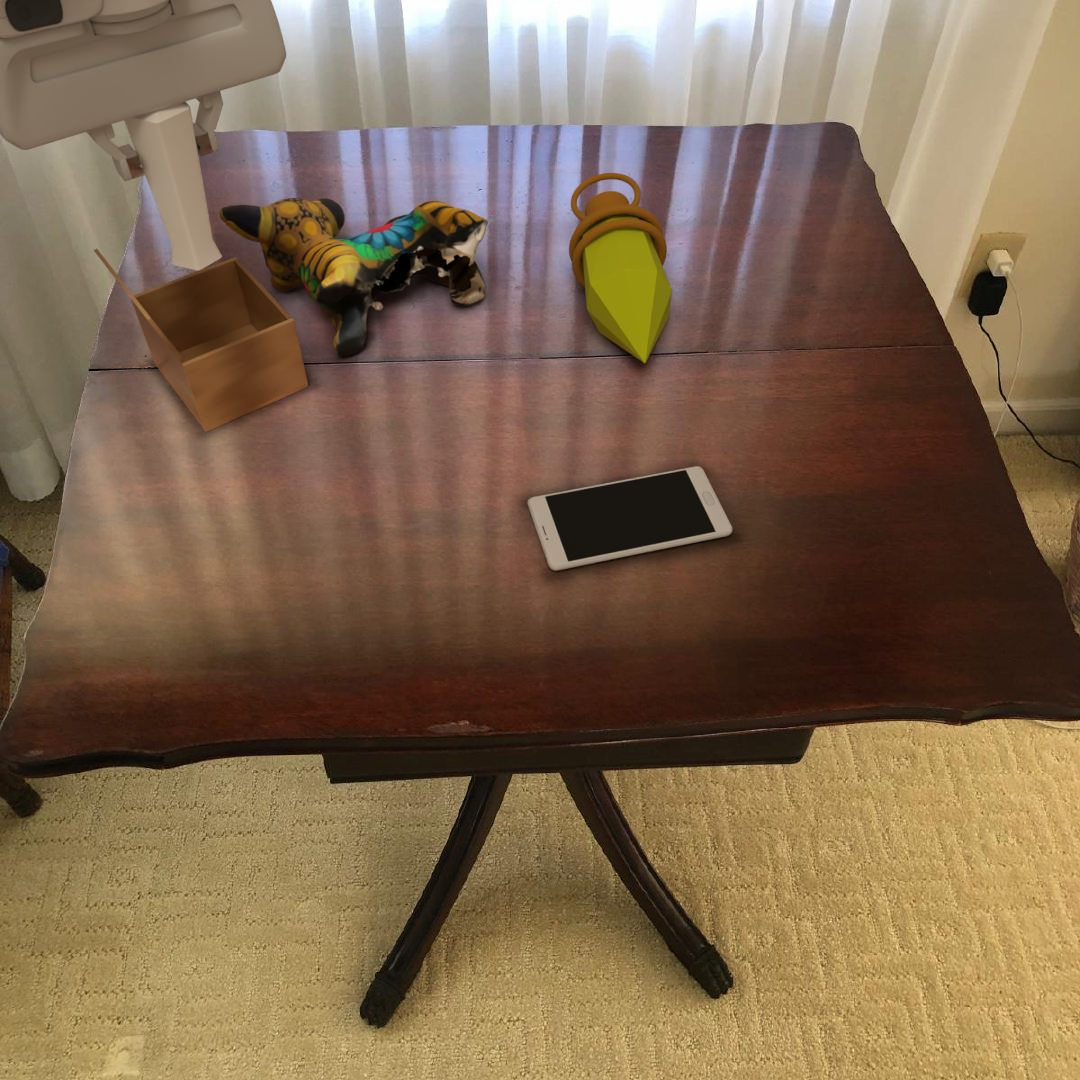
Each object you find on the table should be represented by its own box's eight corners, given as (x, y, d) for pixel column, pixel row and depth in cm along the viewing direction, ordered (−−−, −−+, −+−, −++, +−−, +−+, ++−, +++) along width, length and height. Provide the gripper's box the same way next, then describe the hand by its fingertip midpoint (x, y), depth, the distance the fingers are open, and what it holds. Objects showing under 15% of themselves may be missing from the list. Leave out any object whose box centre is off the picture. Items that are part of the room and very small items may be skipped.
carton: (206, 432, 84) (183, 366, 78) (154, 363, 89) (129, 296, 84) (308, 386, 88) (294, 320, 82) (253, 323, 93) (236, 256, 87)
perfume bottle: (219, 274, 77) (171, 84, 66) (163, 271, 77) (105, 81, 66) (232, 240, 80) (188, 53, 69) (178, 238, 80) (125, 50, 69)
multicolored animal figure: (488, 333, 99) (384, 240, 106) (514, 223, 90) (398, 129, 97) (319, 390, 88) (214, 281, 95) (330, 270, 79) (213, 160, 86)
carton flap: (182, 358, 78) (179, 360, 78) (128, 289, 83) (125, 291, 83) (150, 317, 74) (147, 319, 74) (96, 248, 79) (93, 250, 79)
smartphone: (735, 531, 77) (550, 568, 75) (734, 536, 78) (550, 574, 75) (701, 463, 82) (525, 496, 79) (700, 468, 82) (525, 501, 80)
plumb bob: (699, 384, 90) (647, 200, 103) (693, 316, 82) (638, 126, 95) (602, 406, 91) (562, 221, 104) (587, 341, 83) (546, 150, 96)
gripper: (237, -93, 67) (276, 104, 78) (-75, -21, 59) (16, 187, 70) (281, -63, 64) (315, 138, 75) (-43, 18, 56) (47, 229, 67)
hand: (168, 162), depth 73 cm, fingers closed on perfume bottle, 4 cm apart
